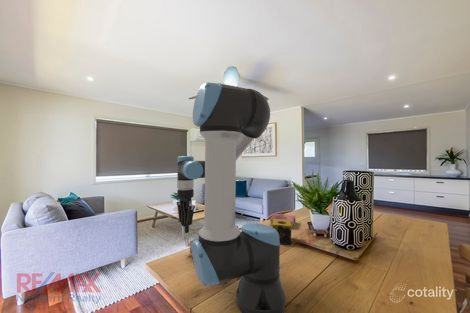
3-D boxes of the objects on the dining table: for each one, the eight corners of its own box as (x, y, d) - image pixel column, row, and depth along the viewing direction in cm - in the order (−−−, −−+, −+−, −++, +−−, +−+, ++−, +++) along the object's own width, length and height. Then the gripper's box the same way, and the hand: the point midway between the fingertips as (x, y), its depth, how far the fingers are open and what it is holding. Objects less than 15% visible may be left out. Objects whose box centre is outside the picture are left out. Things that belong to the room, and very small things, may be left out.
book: (295, 223, 141) (295, 215, 141) (292, 230, 127) (292, 222, 127) (274, 220, 147) (274, 213, 147) (269, 226, 133) (269, 219, 133)
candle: (272, 236, 117) (272, 218, 117) (290, 237, 115) (290, 219, 115) (271, 243, 107) (271, 224, 107) (291, 245, 105) (291, 225, 105)
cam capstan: (193, 255, 89) (193, 244, 89) (186, 250, 93) (186, 240, 93) (219, 245, 99) (219, 235, 99) (212, 241, 103) (212, 232, 103)
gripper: (200, 189, 94) (199, 240, 94) (185, 186, 104) (185, 233, 104) (185, 191, 89) (185, 245, 89) (171, 188, 98) (171, 237, 98)
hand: (185, 238), depth 96 cm, fingers closed
